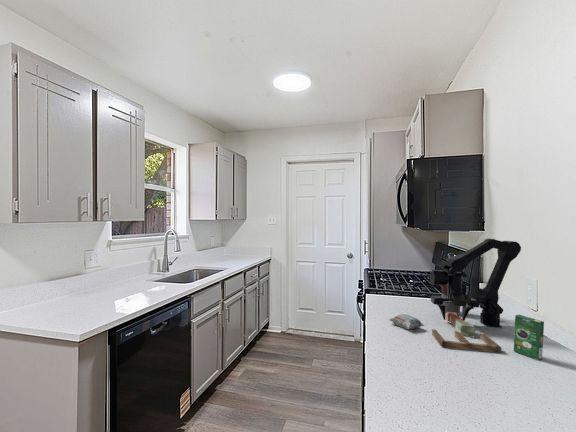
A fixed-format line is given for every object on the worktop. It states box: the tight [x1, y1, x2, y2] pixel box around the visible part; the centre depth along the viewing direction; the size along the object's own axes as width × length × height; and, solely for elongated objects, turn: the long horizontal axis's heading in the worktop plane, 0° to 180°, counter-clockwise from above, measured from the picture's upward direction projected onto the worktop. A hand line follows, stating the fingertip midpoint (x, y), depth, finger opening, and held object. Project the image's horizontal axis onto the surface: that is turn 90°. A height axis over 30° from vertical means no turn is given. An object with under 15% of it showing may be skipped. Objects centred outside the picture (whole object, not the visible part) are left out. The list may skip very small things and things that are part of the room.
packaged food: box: [387, 313, 424, 330], centre depth 134 cm, size 9×12×5 cm
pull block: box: [445, 312, 475, 337], centre depth 135 cm, size 5×20×4 cm, turn 170°
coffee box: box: [513, 314, 545, 361], centre depth 108 cm, size 8×3×13 cm, turn 25°
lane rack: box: [431, 329, 502, 354], centre depth 118 cm, size 20×13×2 cm, turn 80°
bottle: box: [440, 252, 462, 315], centre depth 158 cm, size 9×9×30 cm
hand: (453, 320), depth 141 cm, fingers open, 8 cm apart
